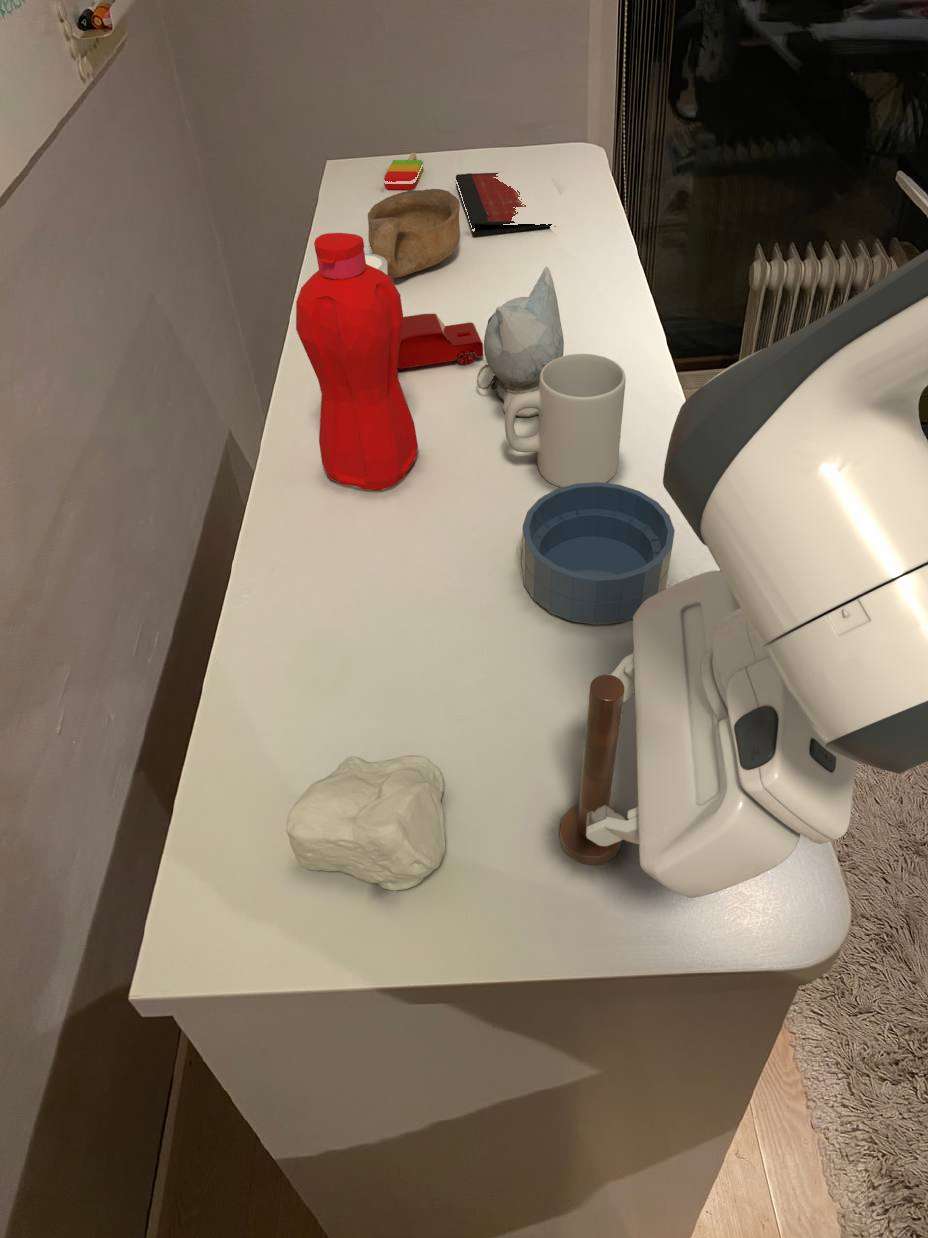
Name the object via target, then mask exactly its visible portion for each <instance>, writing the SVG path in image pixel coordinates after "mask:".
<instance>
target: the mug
mask: <svg viewBox="0 0 928 1238" xmlns="http://www.w3.org/2000/svg"><path fill="white" fill-rule="evenodd" d="M625 392H626V374H625V370H624V369H623V368H622V366H620V364H618V363H617V362H616V361H615V360H612V359H610V358H608V357H605V356H601V355H598V354H593V353H572V354H566V355H563V356H562V357H559V358H556V359H554V360H552V361H551V362H549V363H548V364H547V365H545V367H544V368H543V369H542V371H541V374H540V380H539V388H538V390H537V391H532V392H527V393H523V394H520V395H517V396H516V397H514V398H513V399H512V400H511V401H510V403H509V405H508V407H507V410H506V414H505V416H504V431H505V438H506V440H507V443H508V445H509V446H510V448H511V449H512V450H513V451H516V452H519V453H537V468H538V471H539V474H540V475H541V477H543V479H544V480H545V481H547V483H550V484H551V485H553V486H555V487H558V488H562V487H566V486H569V485H573V484H579V483H592V482H601V483H609V482H610V481H611V480H612V479H613V478H614V477H615V475H616V474H617V471H618V467H619V458H620V445H621V434H622V424H623V423H622V422H623V413H624V412H623V411H624V402H625ZM526 408H534V409H538V410H539V414H538V424H537V433H536V434H534V435H532V436H529V437H528V436H527V437H520V436H519V435H518V434H517V433H516V430H515V421H516V417H517V416H516V415H517V413H518V412H519V411H520V410H522V409H526Z"/></svg>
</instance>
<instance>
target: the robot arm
mask: <svg viewBox="0 0 928 1238" xmlns="http://www.w3.org/2000/svg"><path fill="white" fill-rule="evenodd" d="M927 387H928V249H926V250H925V251H923V252H921V253H920V254H918V255H917V256H915V257H914V258H912V259H910V260H908V261H907V262H906V263H904V264H903V265H901V266H900V267H898V268H897V269H895V270H894V271H892V272H891V273H889V274H887V275H885V276H884V277H882V278H881V279H880V280H878V281H876V282H874V284H872V285H870V286H869V287H866V288H865V289H864V290H863V291H861V292H859V293H857V294H856V295H854V296H853V297H852V298H850V299H848V300H847V301H845V302H844V303H842V304H840V305H839V306H837V307H835V308H834V309H832V310H831V311H829V312H828V313H826V314H824V315H823V316H820V317H819V318H818V319H815V320H814V321H812V322H810V323H809V324H807V325H805V326H803V327H801V328H800V329H798V330H796V331H795V332H792V333H791V334H788V335H786V336H785V337H783V338H781V339H780V340H777V341H776V342H773V343H772V344H770V345H769V346H767V347H764V348H762V349H760V350H757V351H755V352H753V353H751V354H750V355H747V356H745V357H744V358H741V359H740V360H738V361H736V362H735V363H733V364H731V365H729V366H728V367H726V368H724V369H723V370H721V371H720V372H719V373H717V374H716V375H714V376H713V377H712V378H710V379H709V380H708V381H707V382H706V383H705V384H703V385H702V386H701V387H700V388H698V389H697V390H696V391H695V392H694V393H692V394H691V395H690V396H689V397H687V399H686V400H685V401H684V402H683V403H682V405H681V407H680V409H679V411H678V414H677V416H676V419H675V421H674V424H673V428H672V431H671V434H670V438H669V441H668V446H667V451H666V456H665V460H664V469H663V476H662V485H663V487H664V489H665V491H666V492H667V493H668V495H669V497H670V498H671V499H672V501H673V502H674V504H675V506H676V507H677V508H678V510H679V512H680V513H681V514H682V516H683V517H684V519H685V520H686V522H687V524H689V527H691V529H692V530H693V532H694V534H695V535H696V537H697V538H698V540H699V541H700V543H701V544H702V545H703V546H706V548H707V550H709V553H710V554H711V556H712V559H713V560H714V562H715V563H716V566H717V567H718V570H710V571H705V572H703V573H699V574H696V575H694V576H691V577H689V578H687V579H684V580H682V581H680V582H677V583H676V584H674V585H671V586H669V587H666V588H665V590H663V591H661V592H659V593H657V594H655V595H653V596H652V597H650V598H648V599H647V600H645V601H644V602H643V603H642V605H641V606H640V607H639V608H638V610H637V611H636V612H635V614H634V616H633V618H632V635H633V637H632V638H633V652H632V653H631V654H629V655H627V656H625V657H623V658H622V660H621V661H620V663H618V665H617V666H616V667H615V669H614V670H613V671H612V672H611V674H610V675H613V676H615V677H617V678H619V679H620V680H621V681H622V683H623V684H624V687H625V691H624V699H623V706H622V714H623V713H624V703H625V702H626V701H627V700H628V699H629V698H631V697H632V696H633V695H634V704H635V707H634V708H635V739H636V742H635V743H636V774H637V776H636V778H637V779H636V781H637V806H635V807H633V808H630V809H628V811H627V815H626V816H627V817H625V816H623V815H622V814H621V813H619V812H615V810H614V809H613V808H611V807H610V806H609V807H608V806H607V805H604V806H602V807H600V808H597V810H596V811H595V812H593V811H591V812H588V813H587V822H586V837H587V838H588V839H589V840H591V841H592V842H594V843H595V844H597V845H599V846H609V845H611V844H614V843H617V842H619V841H621V842H622V841H625V842H628V843H631V844H636V845H638V848H639V849H638V850H639V851H638V853H639V855H638V856H639V865H640V868H641V869H642V870H643V872H645V873H646V874H647V875H648V876H650V877H651V878H652V879H654V880H655V881H657V882H658V883H659V884H660V885H662V886H663V887H666V888H667V889H668V890H670V891H672V892H674V893H676V894H679V895H680V896H682V897H686V898H692V899H693V898H700V897H704V896H707V895H712V894H714V893H718V892H720V891H723V890H726V889H729V888H731V887H734V886H737V885H739V884H742V883H744V882H746V881H749V880H751V879H753V878H756V877H758V876H760V875H762V874H764V873H766V872H769V871H770V870H772V869H774V868H776V867H778V866H779V865H781V864H782V863H784V861H786V860H787V859H788V858H789V857H790V856H791V855H792V854H793V853H794V851H795V849H796V848H797V847H798V844H799V841H800V838H801V836H802V837H804V838H806V839H807V840H809V841H811V842H813V843H815V844H818V845H819V844H820V845H821V844H827V843H830V842H834V841H836V840H839V839H840V838H843V836H844V835H845V834H846V833H847V831H848V829H849V826H850V823H851V816H852V805H853V797H854V789H855V782H856V776H857V770H858V764H859V763H860V764H863V765H866V766H868V767H869V766H870V767H873V768H877V769H879V770H882V771H883V770H884V771H887V772H891V773H895V774H899V775H901V774H904V773H905V772H907V771H909V770H911V769H913V768H916V767H917V766H920V765H922V764H924V763H928V439H927V436H926V435H925V433H924V431H923V428H922V426H921V420H920V411H919V405H920V398H921V396H922V393H923V392H924V390H925V389H926V388H927ZM626 818H627V819H626Z"/></svg>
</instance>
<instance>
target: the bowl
mask: <svg viewBox="0 0 928 1238" xmlns="http://www.w3.org/2000/svg"><path fill="white" fill-rule="evenodd" d="M460 202H461V201H460V200H459V198H457V197H456V196H455V195H454V194H453V193H451V192H450V191H448V190H445V189H441V188H430V189H428V188H426V189H423V190H422V189H418V190H415V189H410V190H405V191H403V192H398V193H396V194H392V195H391V196H388V197H386V198H383V199H382V200H380V201H378V202H377V203H375V204H373V206H372V207H370V210H369V211H368V213H367V223H368V244H369V247H370V249H371V252H372V253H371V254H376V255H379V256H382V257H384V258H385V259H386V261H387V272H388V276H389V277H390V278H394V279H395V278H401V277H405V276H408V275H410V274H414V273H416V272H421V271H423V270H426V269H429V268H432V267H434V266H436V265H438V264H440V263H441V262H443V261H444V260H446V259H448V257H450V256H451V255H453V253H454V251H455V250H457V248H458V245H459V244H460V238H461V228H460V208H461V203H460Z"/></svg>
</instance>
